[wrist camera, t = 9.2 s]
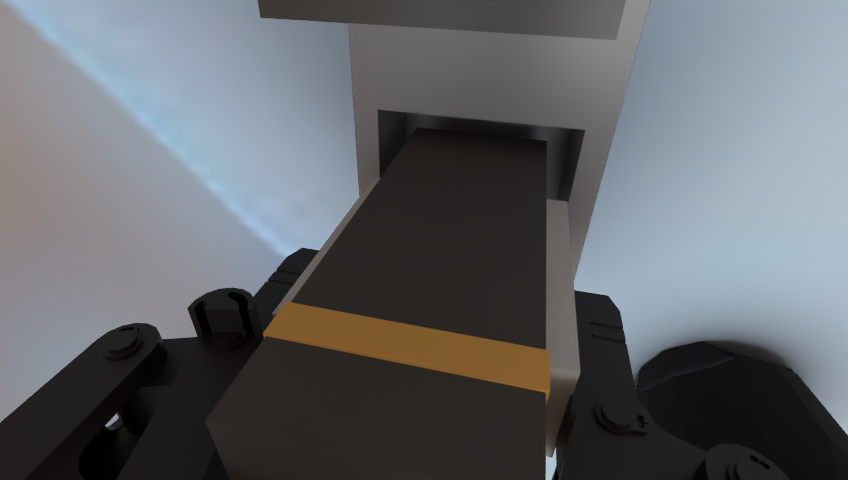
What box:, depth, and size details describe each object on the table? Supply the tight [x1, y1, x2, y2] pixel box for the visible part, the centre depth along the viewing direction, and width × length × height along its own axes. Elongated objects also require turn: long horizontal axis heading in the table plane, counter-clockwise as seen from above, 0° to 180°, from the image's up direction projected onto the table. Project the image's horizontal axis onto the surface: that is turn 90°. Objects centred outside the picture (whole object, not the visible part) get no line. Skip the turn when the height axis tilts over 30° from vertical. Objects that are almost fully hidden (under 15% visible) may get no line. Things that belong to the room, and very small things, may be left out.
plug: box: [205, 127, 550, 480], centre depth 12 cm, size 5×5×12 cm
